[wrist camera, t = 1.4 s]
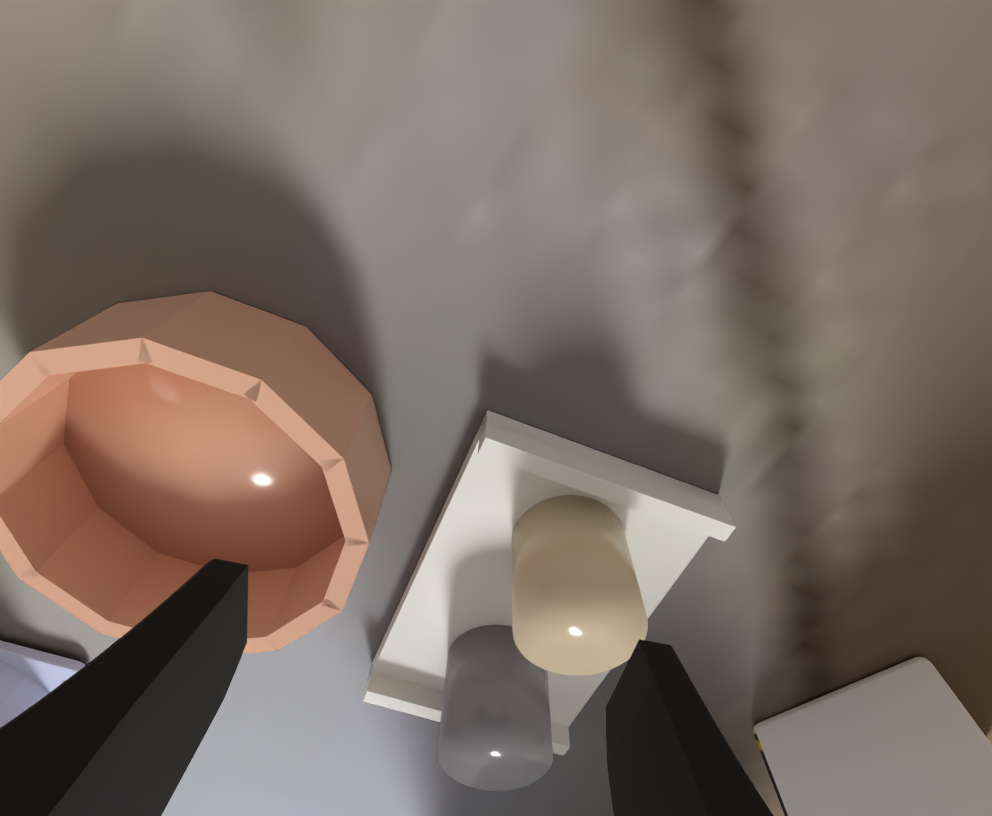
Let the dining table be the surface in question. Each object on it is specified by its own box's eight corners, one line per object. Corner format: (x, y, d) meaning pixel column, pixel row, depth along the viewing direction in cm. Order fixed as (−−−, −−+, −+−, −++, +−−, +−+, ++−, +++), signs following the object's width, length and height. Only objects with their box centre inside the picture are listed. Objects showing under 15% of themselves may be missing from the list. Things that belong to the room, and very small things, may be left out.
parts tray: (560, 717, 25) (563, 755, 23) (371, 664, 23) (362, 701, 22) (719, 495, 19) (735, 527, 18) (487, 410, 18) (485, 437, 17)
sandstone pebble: (593, 595, 20) (609, 689, 17) (494, 563, 20) (492, 654, 17) (645, 516, 19) (673, 603, 16) (539, 479, 18) (546, 562, 15)
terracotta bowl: (338, 605, 22) (310, 690, 19) (48, 519, 20) (-33, 596, 17) (430, 372, 18) (413, 433, 14) (70, 238, 16) (-35, 275, 13)
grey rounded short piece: (522, 703, 23) (525, 801, 20) (433, 677, 23) (421, 775, 19) (563, 641, 22) (572, 737, 18) (468, 612, 21) (461, 706, 18)
